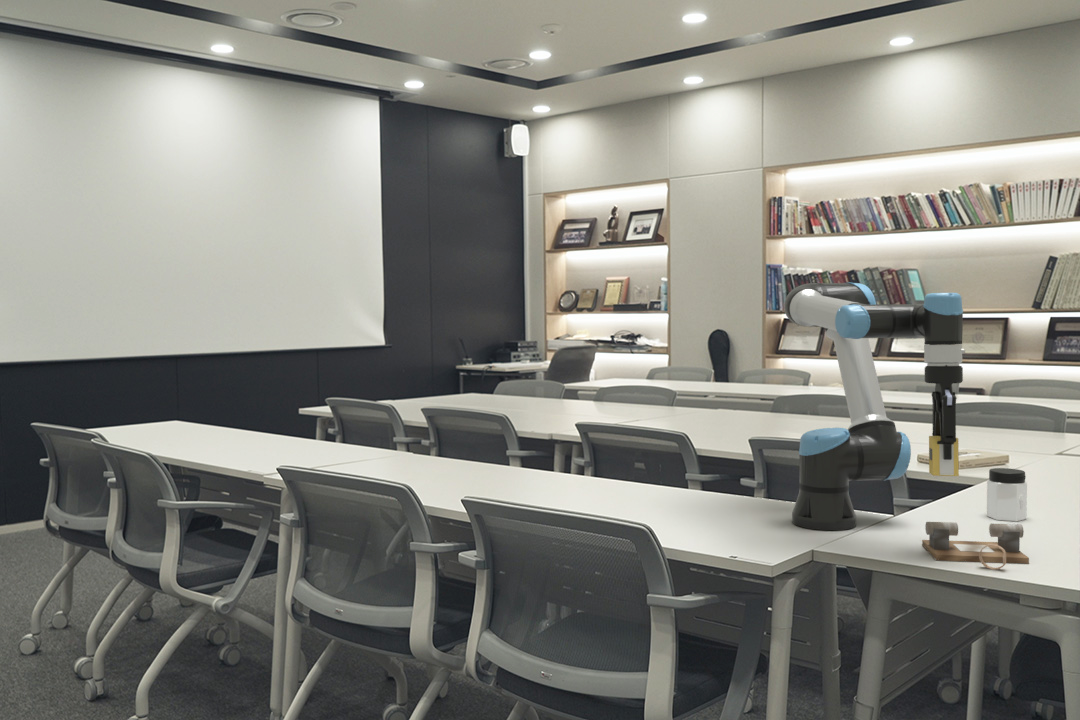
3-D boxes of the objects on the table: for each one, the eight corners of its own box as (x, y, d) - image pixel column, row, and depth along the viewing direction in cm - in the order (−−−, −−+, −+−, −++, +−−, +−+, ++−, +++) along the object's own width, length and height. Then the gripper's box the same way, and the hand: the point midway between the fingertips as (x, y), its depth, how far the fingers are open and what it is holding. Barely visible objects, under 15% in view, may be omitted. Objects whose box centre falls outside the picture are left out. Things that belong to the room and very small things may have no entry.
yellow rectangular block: (932, 475, 196) (932, 438, 196) (928, 472, 201) (928, 435, 201) (959, 476, 195) (959, 438, 195) (954, 472, 200) (954, 436, 200)
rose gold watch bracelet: (1004, 572, 185) (1004, 547, 184) (978, 568, 187) (978, 544, 187) (1006, 568, 187) (1006, 544, 187) (980, 565, 189) (980, 541, 189)
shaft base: (934, 560, 194) (934, 528, 193) (919, 545, 206) (920, 515, 206) (1031, 563, 190) (1032, 531, 190) (1010, 547, 203) (1011, 517, 203)
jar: (1012, 523, 227) (1013, 474, 226) (981, 517, 233) (981, 470, 233) (1032, 518, 231) (1033, 471, 231) (1000, 512, 238) (1001, 466, 238)
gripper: (971, 365, 188) (972, 479, 189) (953, 363, 206) (954, 467, 206) (932, 366, 190) (932, 478, 190) (917, 363, 207) (918, 466, 208)
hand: (944, 472), depth 198 cm, fingers closed on yellow rectangular block, 5 cm apart
